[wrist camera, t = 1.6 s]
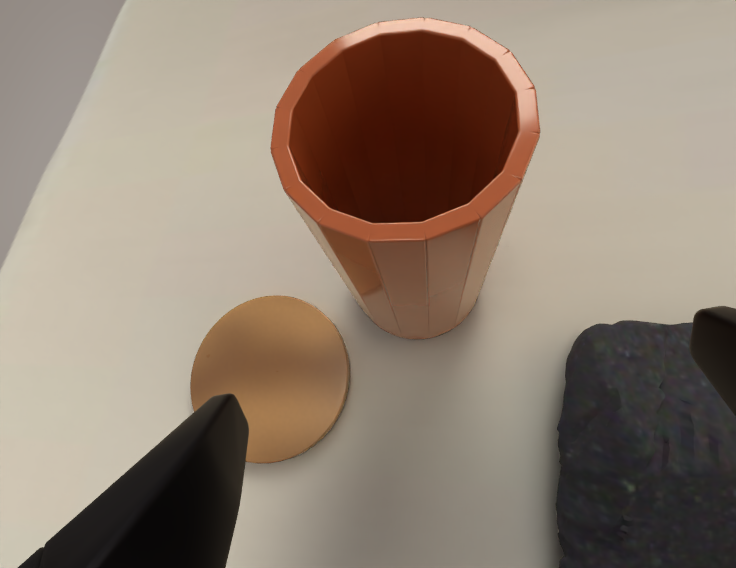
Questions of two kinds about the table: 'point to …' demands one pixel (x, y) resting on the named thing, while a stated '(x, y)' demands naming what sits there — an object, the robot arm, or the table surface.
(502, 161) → the pot
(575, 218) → the table surface
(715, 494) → the dark slate chunk
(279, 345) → the coaster
